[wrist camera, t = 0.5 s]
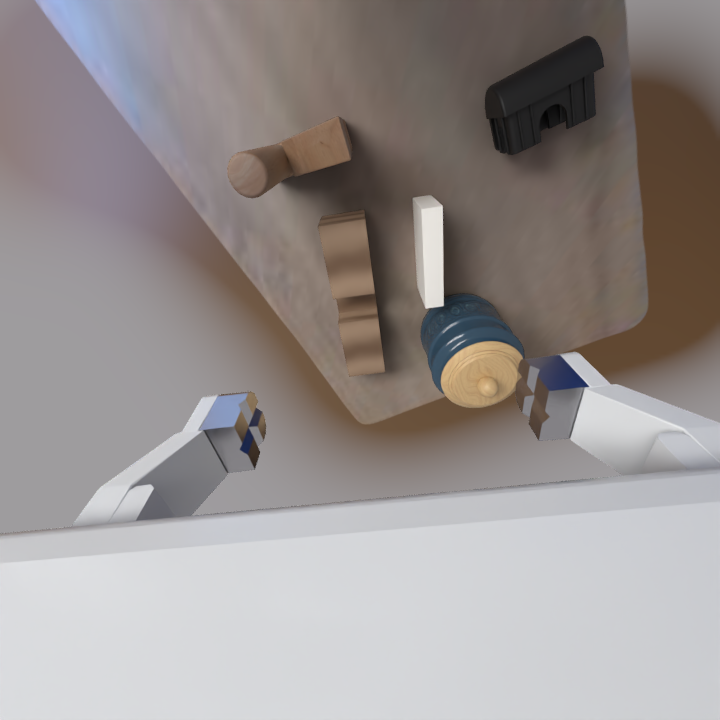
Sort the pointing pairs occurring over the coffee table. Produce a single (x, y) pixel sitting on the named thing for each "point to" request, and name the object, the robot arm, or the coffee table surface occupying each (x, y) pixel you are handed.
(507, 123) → the end cap
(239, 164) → the wooden block
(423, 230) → the white rectangular slab
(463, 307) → the canister
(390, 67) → the coffee table surface
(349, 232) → the walnut crossbar
